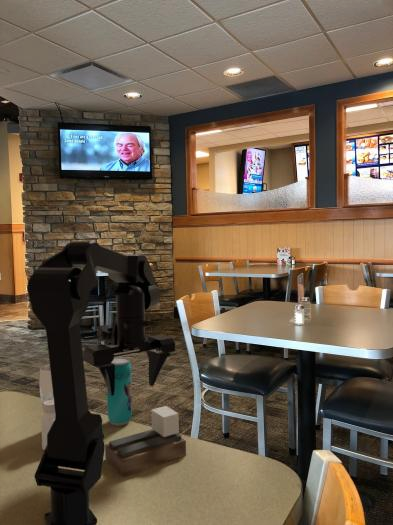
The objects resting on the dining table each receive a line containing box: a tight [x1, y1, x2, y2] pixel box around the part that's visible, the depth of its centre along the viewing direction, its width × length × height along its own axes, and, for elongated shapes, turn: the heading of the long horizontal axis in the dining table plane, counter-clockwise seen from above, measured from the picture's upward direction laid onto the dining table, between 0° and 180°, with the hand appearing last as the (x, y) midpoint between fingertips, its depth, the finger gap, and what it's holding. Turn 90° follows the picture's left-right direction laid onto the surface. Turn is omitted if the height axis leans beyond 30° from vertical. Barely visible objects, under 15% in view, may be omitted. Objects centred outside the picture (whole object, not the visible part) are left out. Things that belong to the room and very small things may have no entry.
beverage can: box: [106, 357, 133, 427], centre depth 104 cm, size 6×6×15 cm
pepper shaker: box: [41, 400, 55, 451], centre depth 92 cm, size 4×4×10 cm
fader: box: [150, 405, 180, 437], centre depth 89 cm, size 4×5×5 cm
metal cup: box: [38, 363, 54, 407], centre depth 99 cm, size 7×7×15 cm
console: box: [104, 428, 187, 478], centre depth 87 cm, size 14×8×4 cm, turn 125°
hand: (132, 390), depth 89 cm, fingers open, 9 cm apart
